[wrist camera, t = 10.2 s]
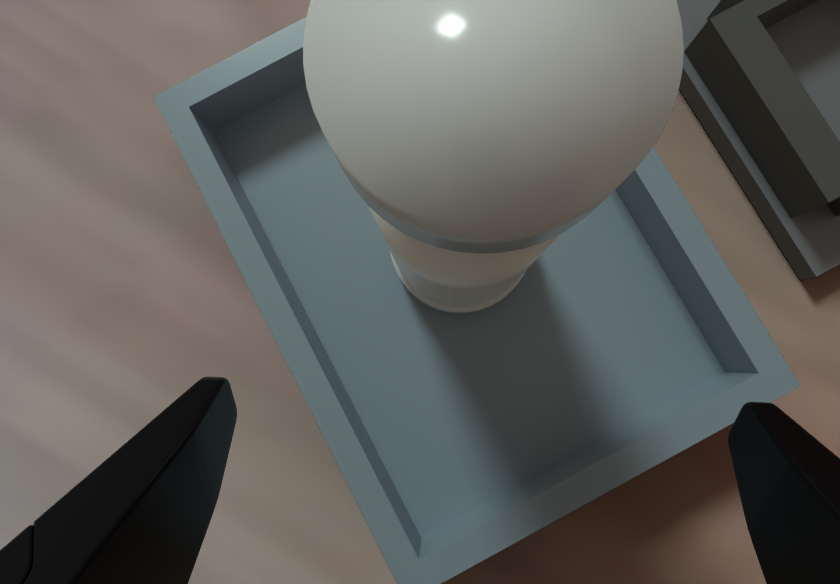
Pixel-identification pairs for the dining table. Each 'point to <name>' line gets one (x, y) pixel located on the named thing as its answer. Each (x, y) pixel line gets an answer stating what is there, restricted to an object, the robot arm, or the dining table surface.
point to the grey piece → (773, 112)
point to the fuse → (487, 123)
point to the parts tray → (469, 331)
